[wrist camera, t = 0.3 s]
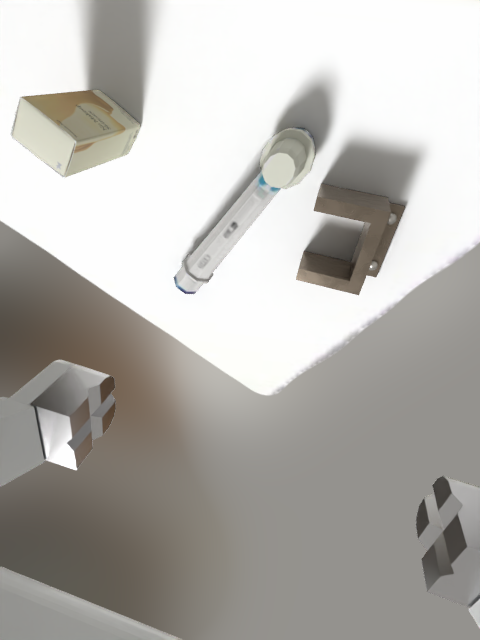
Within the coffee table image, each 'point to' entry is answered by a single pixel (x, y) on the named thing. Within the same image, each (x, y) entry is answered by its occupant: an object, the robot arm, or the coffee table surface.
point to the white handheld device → (250, 204)
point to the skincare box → (74, 129)
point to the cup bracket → (370, 245)
